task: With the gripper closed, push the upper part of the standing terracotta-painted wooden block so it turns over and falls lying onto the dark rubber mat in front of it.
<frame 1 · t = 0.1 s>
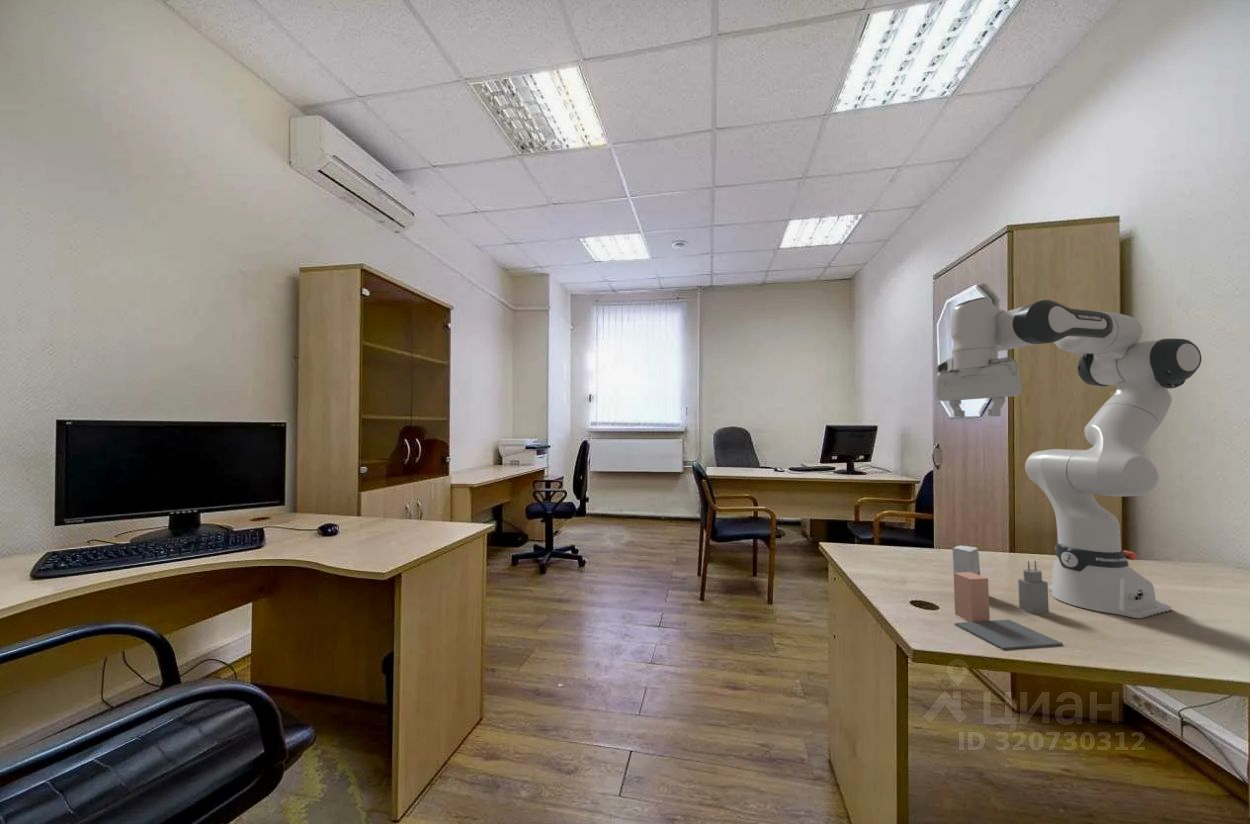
hand: (976, 417, 107), 48 cm above the table, tool pointing down, fingers open, 8 cm apart
block: (972, 618, 101), on the table
power adapter: (1033, 611, 105), on the table
mat: (1006, 634, 93), on the table
skincare box: (967, 593, 116), on the table
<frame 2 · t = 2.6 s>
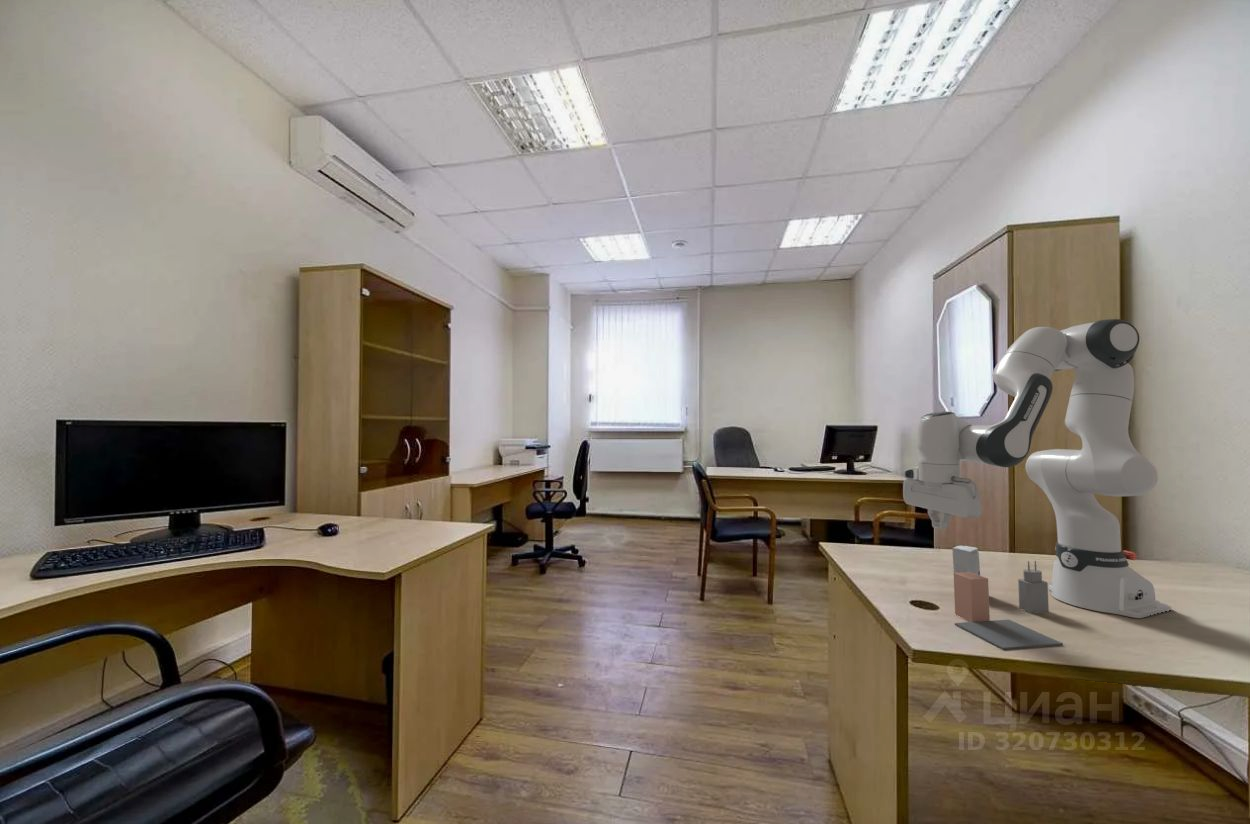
hand: (939, 528, 109), 19 cm above the table, tool pointing down, fingers closed
nothing on the table moved.
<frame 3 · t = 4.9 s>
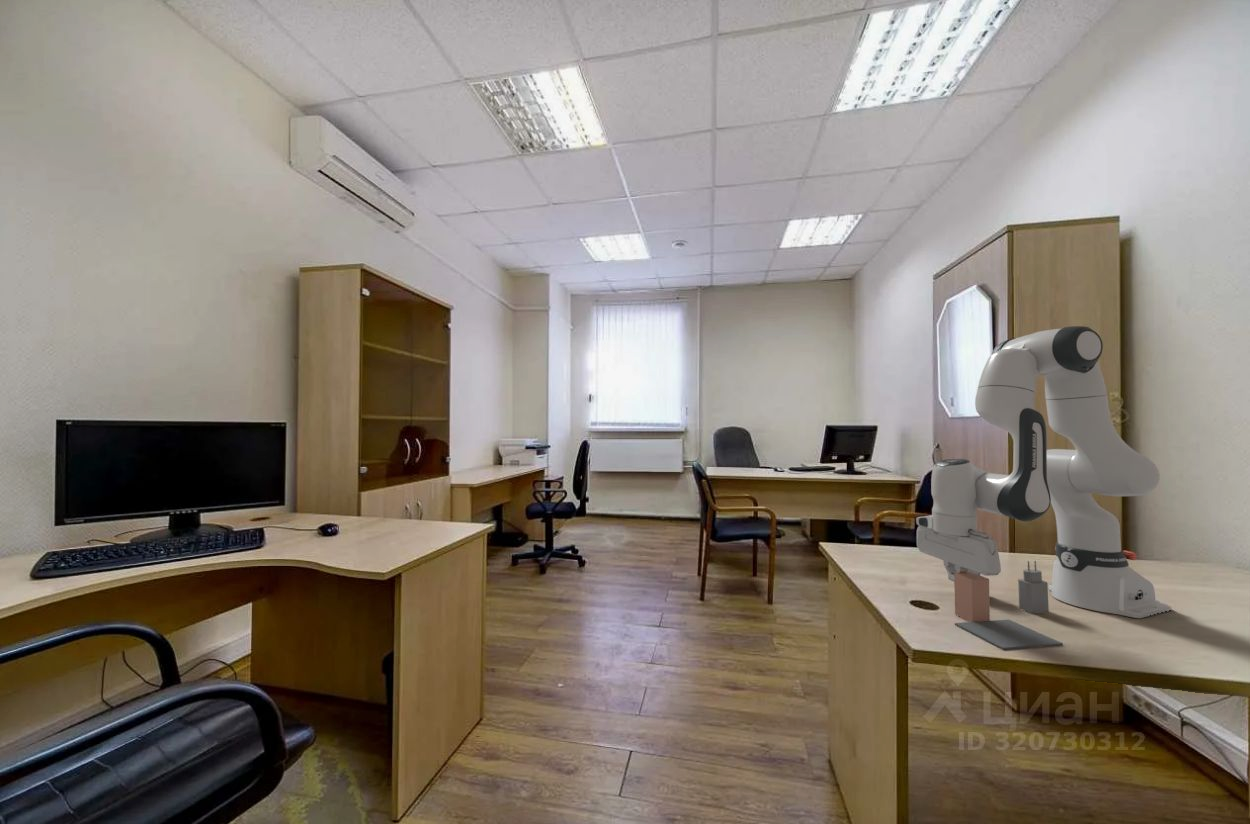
hand: (956, 581, 105), 7 cm above the table, tool pointing down, fingers closed
block: (972, 618, 101), on the table, touching gripper
everything else where it was.
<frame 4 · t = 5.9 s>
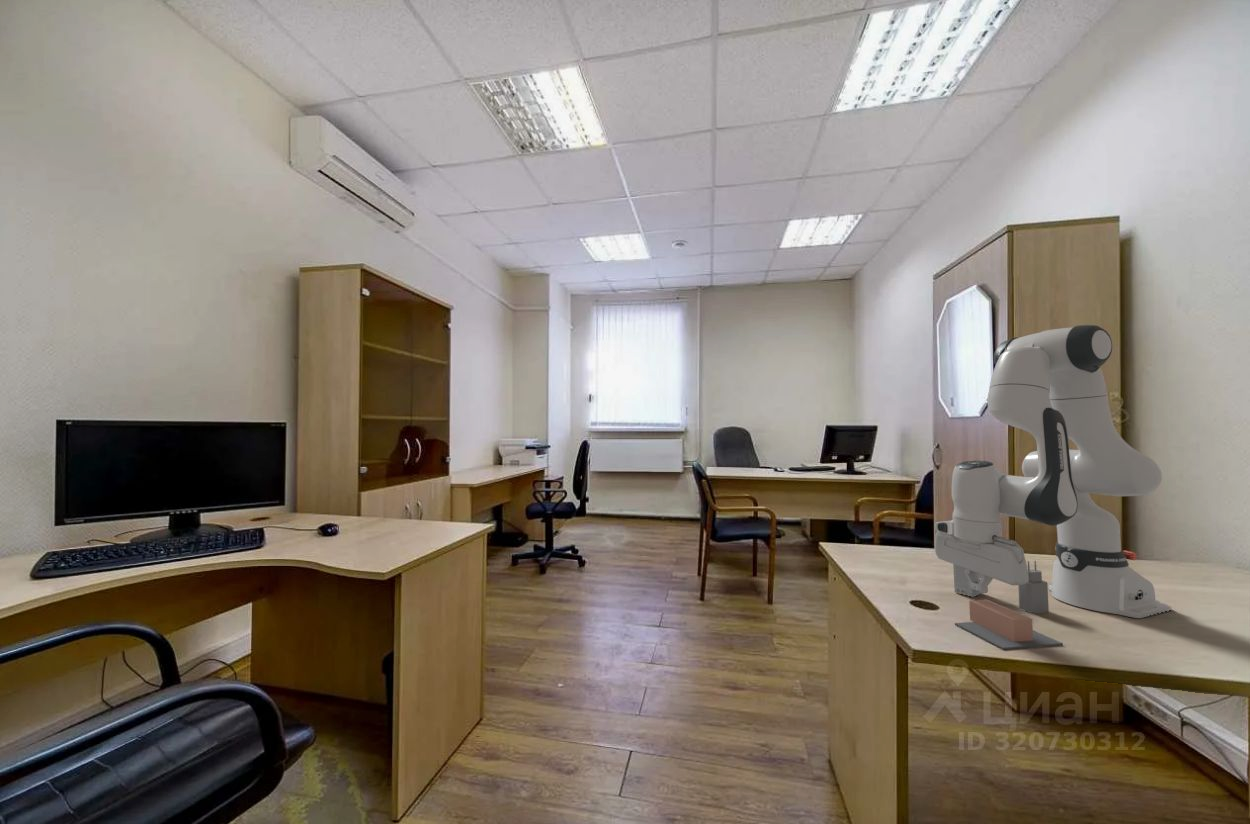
hand: (978, 590, 99), 7 cm above the table, tool pointing down, fingers closed
block: (978, 609, 99), point 3 cm above the table, tilted 90°, touching mat
everything else where it was.
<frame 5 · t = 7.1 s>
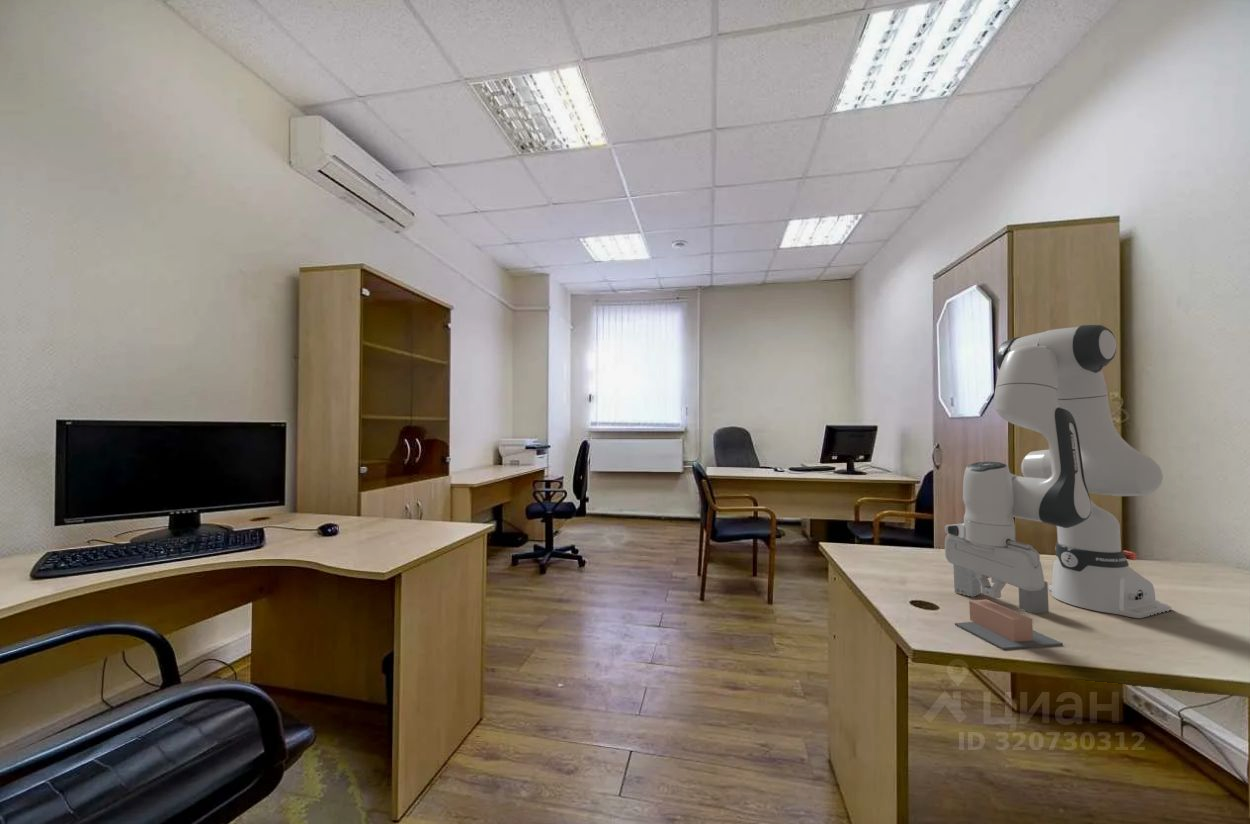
hand: (991, 596, 96), 7 cm above the table, tool pointing down, fingers closed
nothing on the table moved.
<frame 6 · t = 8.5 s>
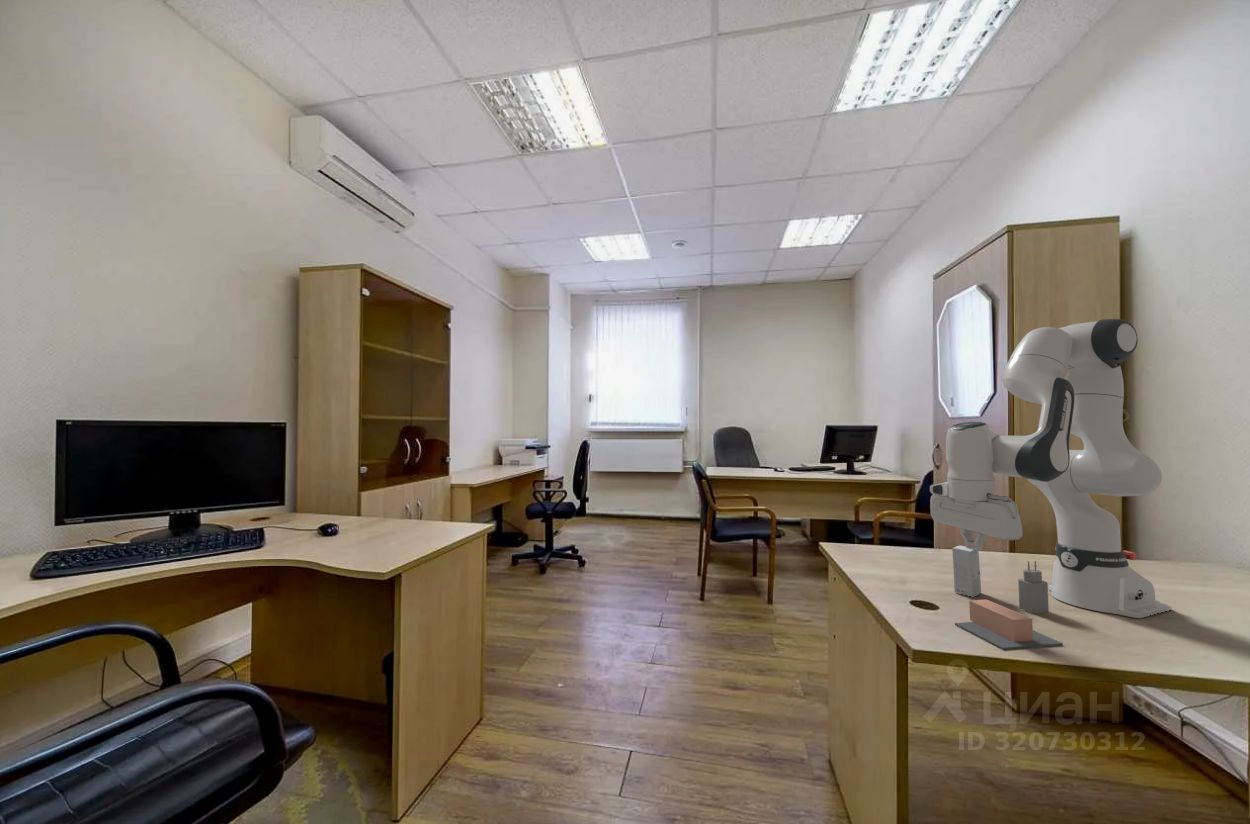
hand: (974, 549, 101), 16 cm above the table, tool pointing down, fingers closed
nothing on the table moved.
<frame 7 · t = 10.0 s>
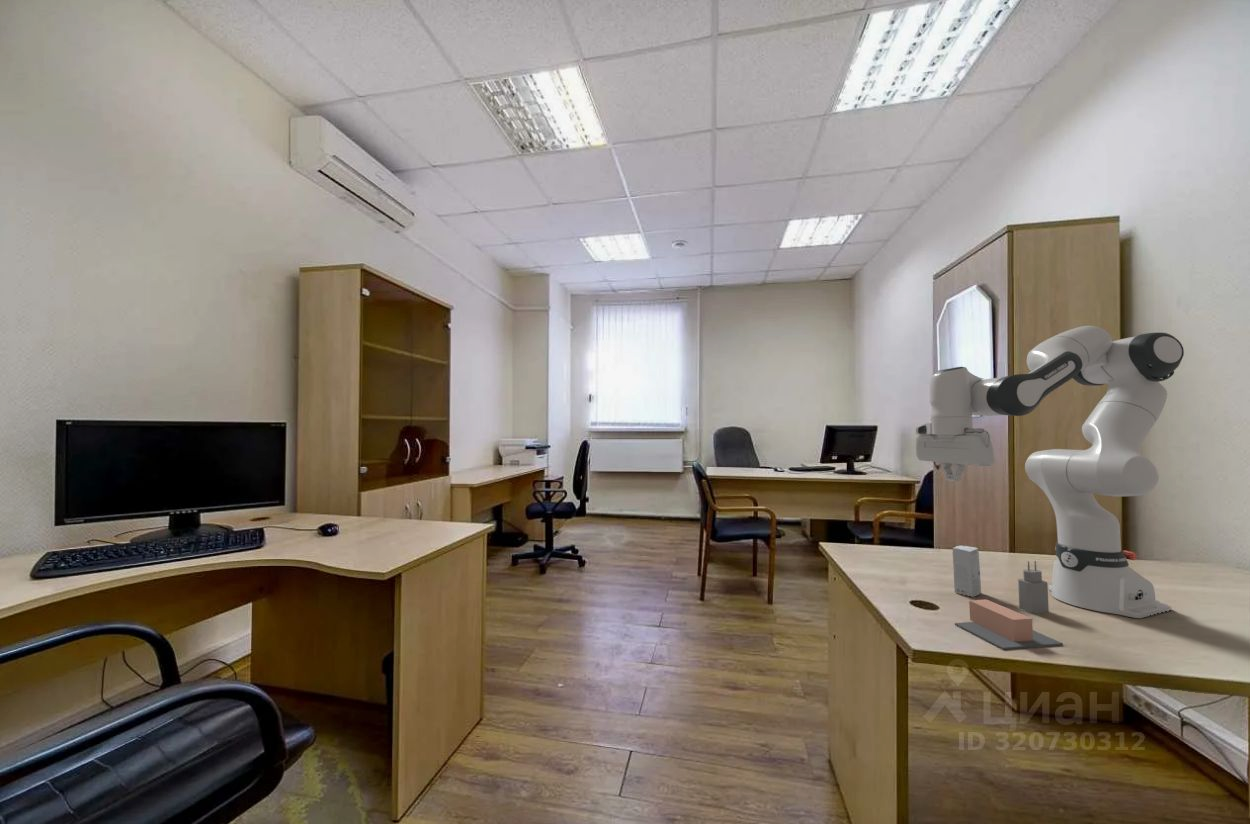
hand: (953, 480, 112), 31 cm above the table, tool pointing down, fingers closed
nothing on the table moved.
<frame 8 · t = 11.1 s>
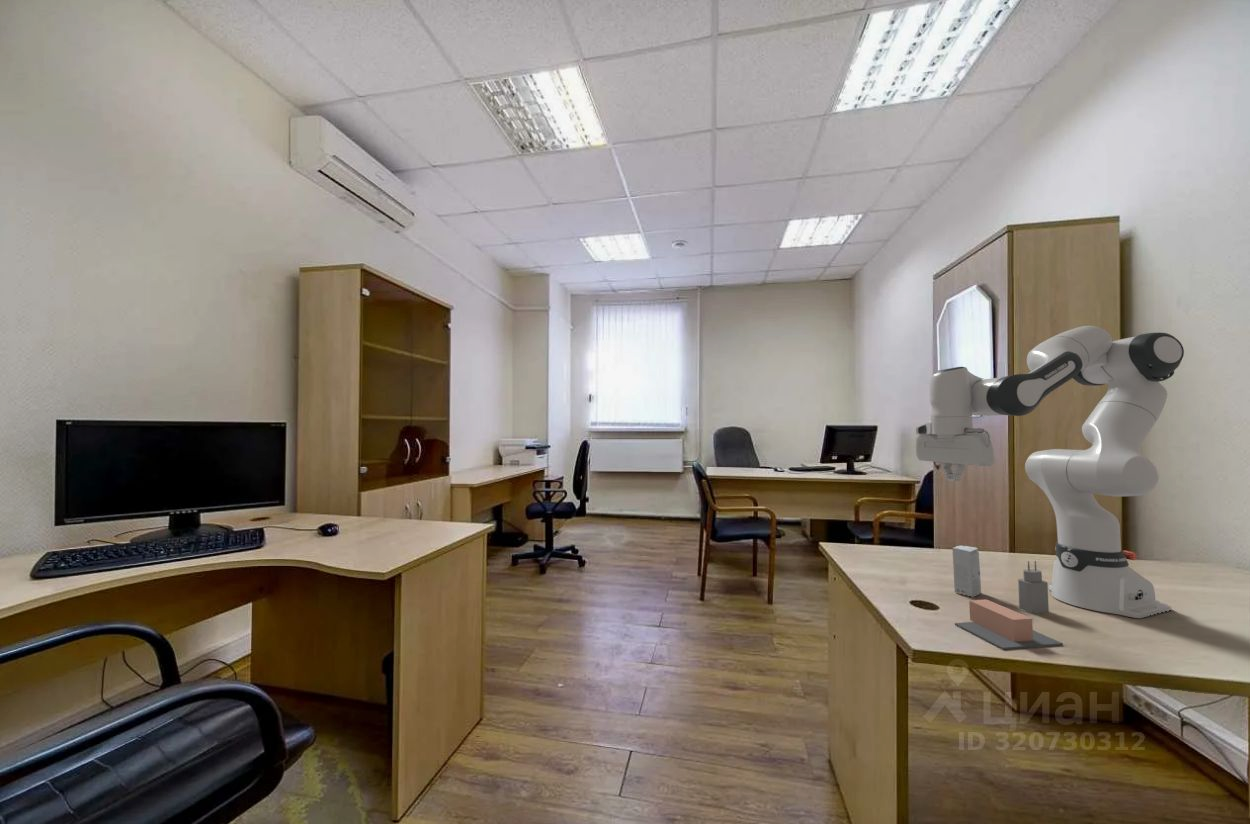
hand: (953, 480, 112), 31 cm above the table, tool pointing down, fingers closed
nothing on the table moved.
at the end: block tilted 90°; block inside the target area (8.8 cm from its centre), point 2.6 cm above the table; the gripper is holding nothing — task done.
